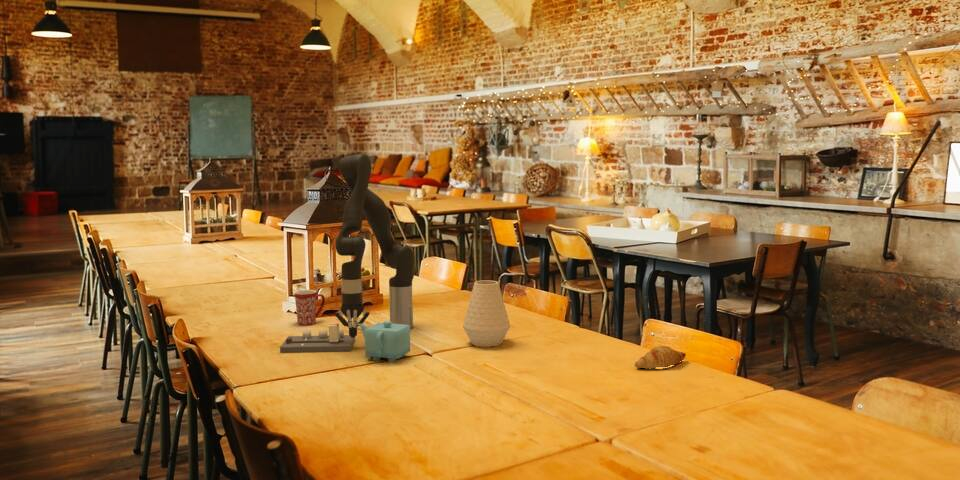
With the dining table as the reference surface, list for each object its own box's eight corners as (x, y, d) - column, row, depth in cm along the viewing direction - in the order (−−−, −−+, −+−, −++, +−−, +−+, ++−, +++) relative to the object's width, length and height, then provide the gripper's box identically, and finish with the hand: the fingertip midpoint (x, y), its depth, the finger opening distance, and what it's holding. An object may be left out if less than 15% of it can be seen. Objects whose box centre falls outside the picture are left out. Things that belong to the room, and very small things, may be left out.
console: (355, 340, 304) (354, 328, 303) (350, 351, 288) (350, 339, 287) (288, 341, 302) (288, 330, 302) (280, 352, 287) (279, 340, 286)
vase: (517, 340, 302) (517, 280, 299) (498, 351, 286) (498, 288, 283) (475, 335, 309) (475, 277, 306) (455, 346, 293) (454, 284, 290)
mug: (299, 327, 325) (298, 294, 323) (292, 322, 333) (291, 291, 331) (329, 323, 331) (328, 291, 329) (321, 319, 339) (320, 287, 337)
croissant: (640, 382, 260) (648, 364, 256) (623, 362, 268) (630, 344, 263) (689, 371, 271) (697, 354, 266) (671, 352, 278) (679, 334, 273)
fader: (339, 338, 296) (339, 322, 295) (337, 342, 291) (337, 325, 290) (331, 338, 296) (330, 322, 295) (329, 342, 291) (328, 325, 290)
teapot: (413, 353, 284) (412, 318, 283) (394, 365, 270) (393, 328, 268) (367, 349, 290) (366, 314, 288) (346, 361, 275) (345, 324, 274)
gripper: (371, 288, 296) (372, 334, 298) (335, 289, 295) (336, 335, 297) (369, 292, 288) (370, 339, 290) (332, 293, 287) (333, 340, 290)
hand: (353, 337), depth 294 cm, fingers closed
